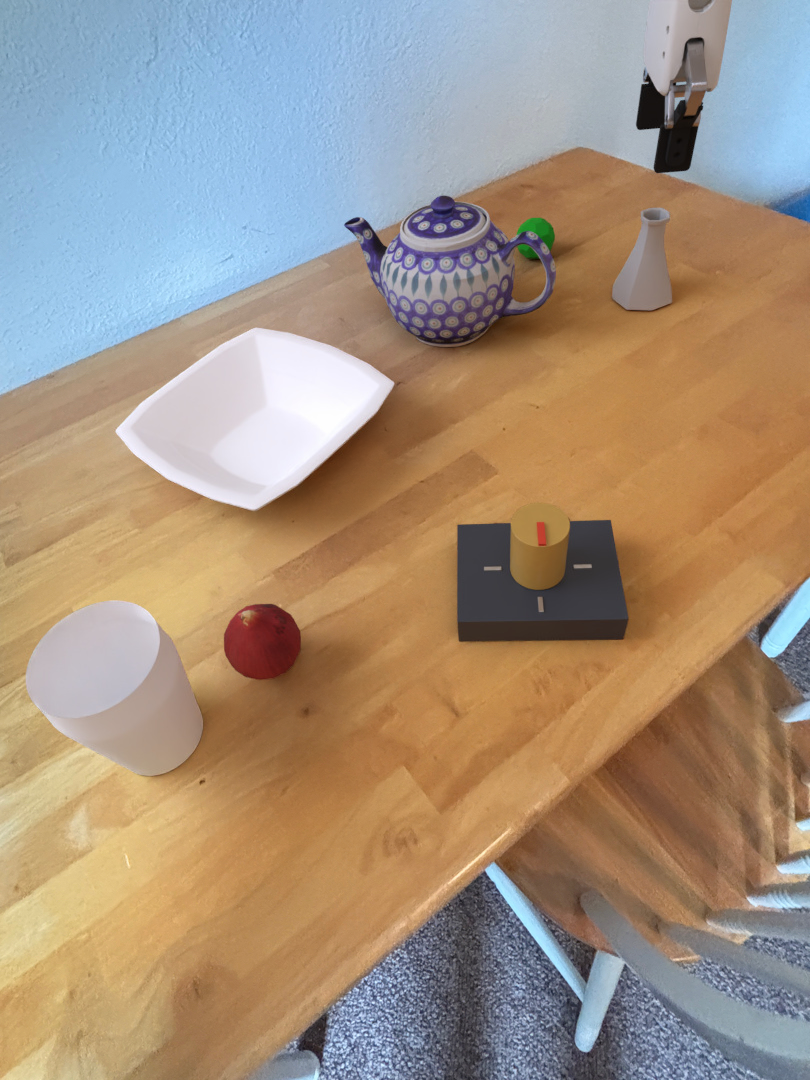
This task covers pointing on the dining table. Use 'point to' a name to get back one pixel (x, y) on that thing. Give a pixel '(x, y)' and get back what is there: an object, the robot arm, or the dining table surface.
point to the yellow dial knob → (539, 545)
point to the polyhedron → (540, 229)
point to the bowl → (255, 416)
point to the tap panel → (539, 615)
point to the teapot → (449, 271)
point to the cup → (117, 687)
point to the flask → (646, 267)
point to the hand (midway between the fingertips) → (661, 148)
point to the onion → (262, 641)
